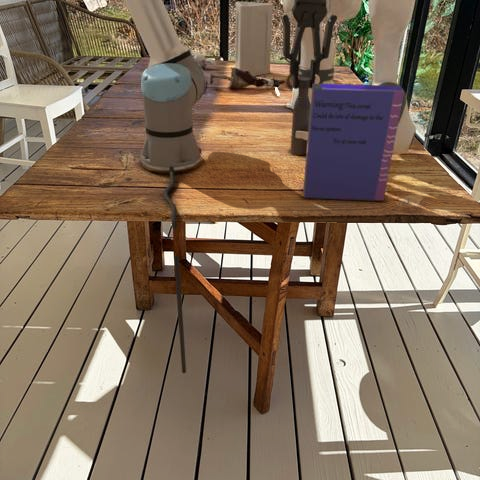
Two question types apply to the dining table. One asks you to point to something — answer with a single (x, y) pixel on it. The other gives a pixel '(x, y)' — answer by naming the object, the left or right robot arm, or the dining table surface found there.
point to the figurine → (246, 79)
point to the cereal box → (351, 141)
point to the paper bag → (253, 37)
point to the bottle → (300, 122)
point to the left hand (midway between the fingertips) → (302, 87)
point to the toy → (202, 59)
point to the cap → (304, 82)
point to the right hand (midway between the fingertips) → (297, 130)
